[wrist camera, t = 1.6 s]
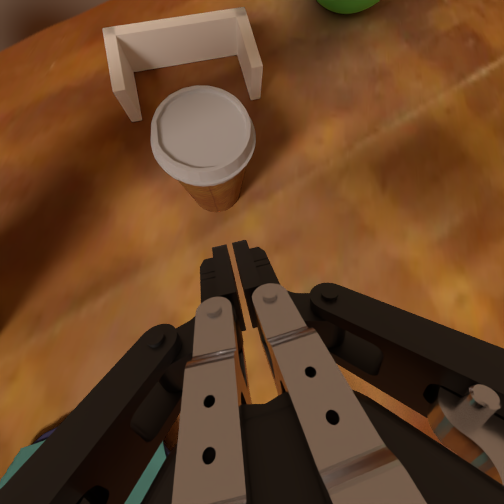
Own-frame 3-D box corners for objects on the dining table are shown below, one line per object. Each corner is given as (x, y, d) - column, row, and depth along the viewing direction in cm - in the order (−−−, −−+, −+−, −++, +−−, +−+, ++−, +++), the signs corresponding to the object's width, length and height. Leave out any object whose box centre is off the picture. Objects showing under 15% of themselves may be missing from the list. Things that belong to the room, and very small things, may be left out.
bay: (131, 122, 34) (112, 91, 29) (121, 65, 35) (102, 28, 30) (260, 98, 35) (262, 65, 30) (244, 45, 37) (244, 6, 32)
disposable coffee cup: (198, 149, 33) (173, 67, 21) (261, 172, 33) (271, 101, 21) (169, 209, 31) (125, 154, 19) (236, 234, 31) (232, 193, 19)
